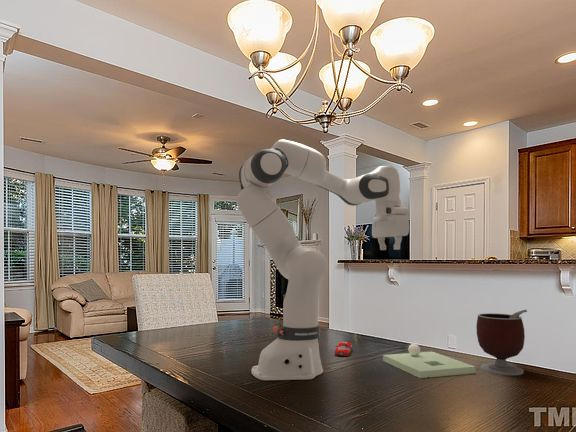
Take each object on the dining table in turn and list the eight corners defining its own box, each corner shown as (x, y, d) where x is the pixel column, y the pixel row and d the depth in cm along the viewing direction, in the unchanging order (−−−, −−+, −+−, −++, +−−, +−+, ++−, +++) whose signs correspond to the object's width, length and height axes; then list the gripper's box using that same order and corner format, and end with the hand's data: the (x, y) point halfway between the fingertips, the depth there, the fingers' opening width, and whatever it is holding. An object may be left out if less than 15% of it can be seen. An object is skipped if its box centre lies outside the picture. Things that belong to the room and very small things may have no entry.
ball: (412, 357, 144) (412, 345, 144) (406, 354, 148) (406, 343, 148) (422, 356, 145) (422, 344, 145) (416, 354, 149) (415, 342, 149)
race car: (348, 358, 152) (348, 347, 152) (333, 357, 154) (333, 346, 154) (354, 350, 164) (354, 340, 165) (340, 349, 166) (340, 339, 166)
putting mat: (420, 378, 126) (419, 371, 126) (383, 360, 147) (382, 355, 147) (475, 373, 132) (475, 366, 132) (432, 357, 153) (432, 351, 153)
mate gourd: (469, 368, 137) (467, 306, 139) (491, 362, 145) (488, 303, 147) (519, 380, 125) (515, 311, 127) (539, 372, 133) (536, 307, 135)
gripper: (367, 213, 161) (368, 250, 160) (395, 208, 141) (396, 249, 140) (381, 214, 163) (383, 250, 161) (411, 208, 143) (413, 249, 142)
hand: (389, 249), depth 151 cm, fingers open, 8 cm apart
